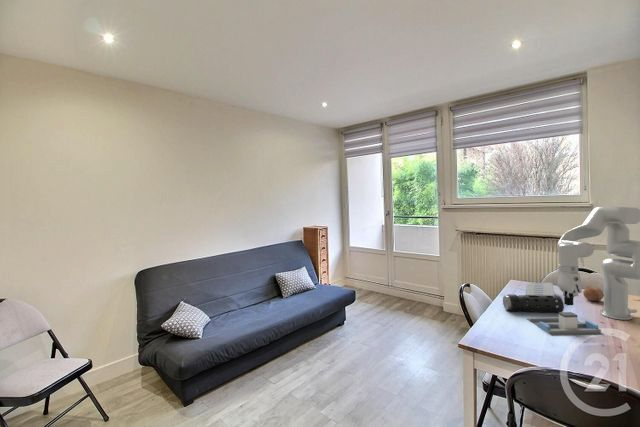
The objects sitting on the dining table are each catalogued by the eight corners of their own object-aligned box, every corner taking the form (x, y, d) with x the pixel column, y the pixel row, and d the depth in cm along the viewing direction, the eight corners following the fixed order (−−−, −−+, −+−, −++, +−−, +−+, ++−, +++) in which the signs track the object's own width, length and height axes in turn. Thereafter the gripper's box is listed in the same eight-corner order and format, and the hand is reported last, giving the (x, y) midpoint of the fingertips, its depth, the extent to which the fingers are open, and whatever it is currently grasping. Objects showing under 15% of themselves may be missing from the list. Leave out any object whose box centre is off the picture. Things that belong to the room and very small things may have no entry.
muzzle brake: (564, 316, 168) (564, 298, 167) (508, 315, 174) (508, 297, 173) (554, 310, 177) (554, 293, 177) (502, 308, 183) (502, 292, 182)
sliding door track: (571, 319, 164) (571, 312, 163) (604, 336, 144) (604, 328, 144) (526, 320, 165) (526, 313, 165) (552, 337, 145) (552, 329, 145)
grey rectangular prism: (571, 327, 153) (571, 312, 152) (577, 331, 149) (577, 315, 148) (558, 327, 153) (558, 312, 153) (564, 331, 149) (564, 315, 149)
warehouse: (527, 290, 214) (527, 280, 214) (552, 293, 206) (552, 282, 205) (525, 303, 190) (525, 291, 190) (554, 307, 182) (554, 295, 181)
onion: (585, 303, 192) (578, 287, 196) (603, 301, 189) (596, 284, 193) (590, 303, 184) (582, 286, 188) (609, 300, 181) (601, 283, 185)
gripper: (588, 272, 141) (589, 310, 143) (564, 264, 156) (565, 299, 158) (572, 273, 142) (572, 311, 143) (549, 265, 157) (550, 299, 158)
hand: (568, 304), depth 150 cm, fingers closed
